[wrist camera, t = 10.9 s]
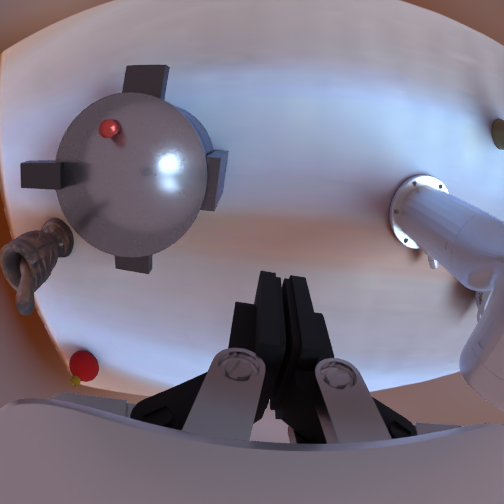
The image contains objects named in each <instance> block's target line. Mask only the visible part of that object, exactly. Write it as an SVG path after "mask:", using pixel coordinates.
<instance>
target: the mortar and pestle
mask: <svg viewBox="0 0 504 504" xmlns="http://www.w3.org/2000/svg"><path fill="white" fill-rule="evenodd" d="M73 243H74V241H73V234H72V232H71V230H70V229H69V227H68V226H67V225H66V224H65V223H64V222H63V221H61V220H59V219H51V220H49V221H47V222H46V223H45V225H44V226H43V228H42V230H41V231H37V230H36V231H31V232H27V233H24V234H22V235H21V236H19V237H17V238H16V239H14V240H12V241H11V242H10V243H8V244H6V245H5V246H4V247H3V248H1V250H0V265H1V269H2V271H3V273H4V276H5V278H6V279H7V281H8V283H9V284H10V285H11V286H12V287H13V288H14V289H15V290H16V291H17V294H16V300H15V301H16V308H17V310H18V311H19V312H20V314H22V315H29V314H31V312H32V311H33V308H34V303H35V301H34V292H35V291H36V290H37V289H38V288H39V287H40V286H41V285H42V284H43V283H44V282H45V281H46V280H47V279H48V277H49V276H50V275H51V272H52V270H53V268H54V267H55V265H56V263H57V259H58V257H66V256H69V254H70V253H71V251H72V249H73Z"/></svg>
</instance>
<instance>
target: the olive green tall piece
mask: <svg viewBox="0 0 504 504" xmlns="http://www.w3.org/2000/svg"><path fill="white" fill-rule="evenodd" d="M492 138H493V141H494V144H495V145H496V147H497V148H499V149H503V150H504V120H501V119H497V120H495V122H494V123H493V126H492Z"/></svg>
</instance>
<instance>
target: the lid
mask: <svg viewBox="0 0 504 504" xmlns="http://www.w3.org/2000/svg"><path fill="white" fill-rule="evenodd" d="M207 179H208V168H207V159H206V154H205V150H204V147H203V144H202V141H201V139H200V137H199V135H198V133H197V131H196V129H195V128H194V126H193V125H192V123H191V122H190V121H189V119H188V118H187V117H186V116H185V115H184V114H183V113H182V112H181V111H179V110H178V109H177V108H176V107H174V106H173V105H171V104H170V103H168V102H166V101H164V100H162V99H160V98H157V97H154V96H151V95H147V94H142V93H132V92H129V93H119V94H114V95H110V96H107V97H105V98H102V99H100V100H98V101H96V102H95V103H93V104H91V105H90V106H88V107H87V108H86V109H84V110H83V111H82V112H81V113H80V114H79V115H78V116H77V117H76V118H75V119H74V121H73V122H72V123H71V124H70V126H69V127H68V129H67V131H66V132H65V134H64V136H63V138H62V141H61V143H60V146H59V149H58V152H57V156H56V161H26V162H23V163H21V188H36V189H55V190H56V192H57V197H58V200H59V203H60V206H61V208H62V211H63V213H64V215H65V217H66V218H67V220H68V222H69V223H70V225H71V226H72V227H73V229H74V230H75V231H76V232H77V233H78V234H79V235H80V236H81V237H82V238H83V239H84V240H85V241H87V242H88V243H89V244H91V245H92V246H94V247H95V248H97V249H99V250H101V251H103V252H106V253H109V254H112V255H116V256H121V257H142V256H147V255H151V254H154V253H157V252H160V251H162V250H164V249H166V248H168V247H169V246H171V245H172V244H174V243H175V242H176V241H177V240H179V239H180V238H181V237H182V236H183V235H184V234H185V233H186V231H187V230H188V229H189V228H190V226H191V225H192V223H193V222H194V220H195V219H196V217H197V215H198V212H199V210H200V208H201V206H202V203H203V200H204V197H205V193H206V188H207Z"/></svg>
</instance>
